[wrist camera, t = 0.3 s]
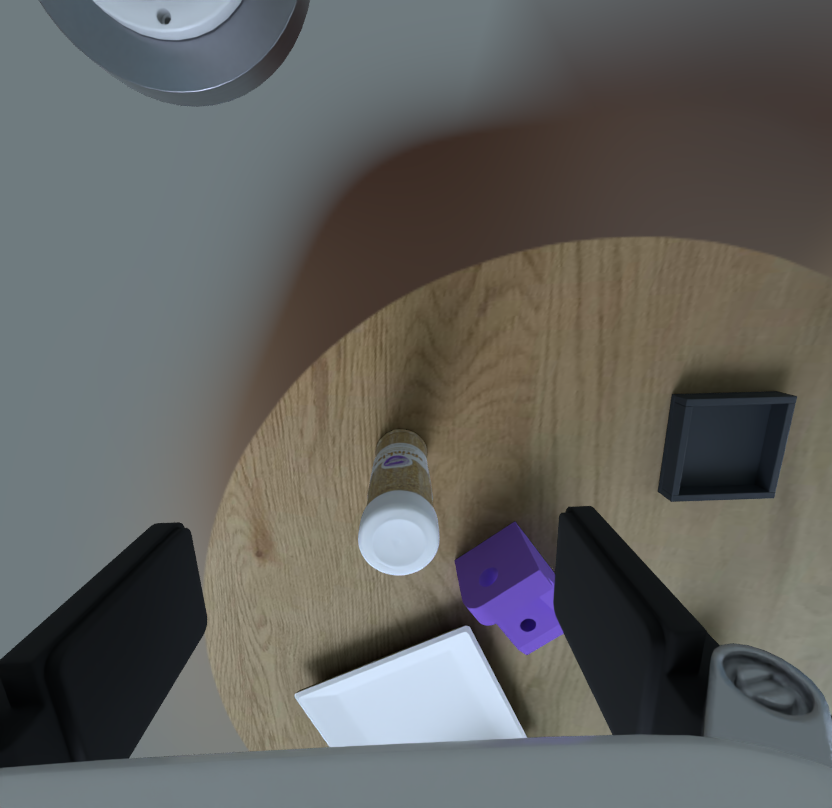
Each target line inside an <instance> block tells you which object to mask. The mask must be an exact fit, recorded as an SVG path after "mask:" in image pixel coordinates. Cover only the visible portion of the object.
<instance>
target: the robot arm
mask: <svg viewBox="0 0 832 808" xmlns="http://www.w3.org/2000/svg"><path fill="white" fill-rule="evenodd" d="M93 1H94V2H95V3H96V4H97V5H98V6H99V7H100V8H101V9H102V10H103V11H104V12H105V13H107V14H108V15H109V16H111V17H112V18H113V19H115V20H116V21H117V22H119V23H120V24H122V25H123V26H125V27H127V28H129V29H131V30H133V31H135V32H137V33H139V34H142V35H145V36H149V37H153V38H157V39H162V40H183V39H188V38H194V37H198V36H200V35H202V34H204V33H207V32H209V31H211V30H213V29H215V28H216V27H217V26H219V25H220V24H221V23H223V22H224V21H225V20H226V19H228V18H229V16H230V15H231V14H232V13H233V12H234V10H235V9H236V8H237V7H238V6H239V5H240V3H241V1H242V0H93ZM553 606H554V612H555V615H556V618H557V620H558V622H559V624H560V626H561V629H562V631H563V633H564V635H565V637H566V639H567V641H568V643H569V645H570V647H571V649H572V651H573V653H574V656H575V658H576V660H577V662H578V664H579V666H580V668H581V670H582V672H583V674H584V676H585V678H586V680H587V683H588V685H589V687H590V689H591V691H592V693H593V695H594V697H595V699H596V701H597V703H598V705H599V707H600V710H601V712H602V714H603V716H604V718H605V720H606V722H607V724H608V726H609V728H610V730H611V732H612V735H600V736H561V737H535V738H513V739H491V740H469V741H447V742H425V743H404V744H384V745H364V746H345V747H325V748H306V749H287V750H269V751H250V752H232V753H215V754H198V755H182V756H164V757H147V758H131V759H129V757H130V755H131V754H132V752H133V751H134V749H135V747H136V745H137V744H138V742H139V740H140V739H141V737H142V736H143V734H144V732H145V731H146V729H147V727H148V726H149V724H150V722H151V721H152V719H153V717H154V716H155V714H156V712H157V711H158V709H159V707H160V706H161V704H162V703H163V701H164V699H165V698H166V696H167V694H168V692H169V691H170V689H171V688H172V686H173V684H174V682H175V681H176V679H177V678H178V676H179V674H180V673H181V671H182V669H183V668H184V666H185V664H186V663H187V661H188V659H189V658H190V656H191V654H192V653H193V651H194V650H195V648H196V646H197V644H198V643H199V641H200V640H201V638H202V636H203V634H204V632H205V630H206V626H207V613H206V608H205V603H204V598H203V592H202V587H201V582H200V577H199V571H198V567H197V561H196V556H195V551H194V546H193V540H192V535H191V532H190V530H189V529H188V528H184V526H183V524H182V523H157V524H154V525H152V526H151V527H150V528H148V529H147V530H146V531H145V532H144V533H143V534H142V535H140V536H139V537H138V538H137V539H136V540H135V541H134V542H133V543H131V544H130V545H129V546H128V547H127V548H126V549H125V550H124V551H122V552H121V553H120V554H119V555H118V556H117V557H116V558H115V559H113V560H112V561H111V562H110V563H109V564H108V565H107V566H105V567H104V568H103V569H102V570H101V571H100V572H99V573H98V574H96V575H95V576H94V577H93V578H92V579H91V580H90V581H89V582H87V583H86V584H85V585H84V586H83V587H82V588H81V589H79V590H78V591H77V592H76V593H75V594H74V595H73V596H72V597H70V598H69V599H68V600H67V601H66V602H65V603H64V604H63V605H61V606H60V607H59V608H58V609H57V610H56V611H55V612H54V613H52V614H51V615H50V616H49V617H48V618H47V619H46V620H44V621H43V622H42V623H41V624H40V625H39V626H38V627H37V628H35V629H34V630H33V631H32V632H31V633H30V634H29V635H28V636H26V638H24V639H23V640H22V641H21V642H20V643H19V644H17V645H16V646H15V647H14V648H13V649H12V650H11V651H10V652H8V653H7V654H6V655H5V656H4V657H3V658H2V659H0V808H832V715H830V710H829V706H828V704H827V702H826V700H825V697H824V695H823V694H822V692H821V691H820V690H819V689H818V687H817V686H816V685H815V684H814V683H813V681H812V680H810V679H809V678H808V677H807V676H806V675H804V674H803V673H802V672H801V671H800V670H799V669H797V668H796V667H794V666H793V665H791V664H789V663H788V662H786V661H785V660H783V659H782V658H780V657H777V656H775V655H773V654H771V653H769V652H767V651H765V650H762V649H758V648H755V647H752V646H749V645H742V644H734V643H733V644H725V645H721V646H719V645H718V643H717V642H716V641H715V640H714V639H713V638H712V637H711V636H710V635H709V634H708V633H707V631H706V630H705V628H704V627H703V626H702V625H701V624H700V623H699V622H698V621H697V620H696V619H695V618H694V617H693V615H692V614H691V613H690V612H689V611H688V610H687V609H686V608H685V607H684V606H683V605H682V603H681V602H680V601H679V600H678V599H677V598H676V597H675V596H674V595H673V594H672V593H671V591H670V590H669V589H668V588H667V587H666V586H665V585H664V584H663V583H662V582H661V581H660V580H659V578H658V577H657V576H656V575H655V574H654V573H653V572H652V571H651V570H650V569H649V568H648V566H647V565H646V564H645V563H644V562H643V561H642V560H641V559H640V558H639V557H638V556H637V554H636V553H635V552H634V551H633V550H632V549H631V548H630V547H629V546H628V545H627V544H626V542H625V541H624V540H623V539H622V538H621V537H620V536H619V535H618V534H617V533H616V532H615V531H614V529H613V528H612V527H611V526H610V525H609V524H608V523H607V522H606V521H605V520H604V519H603V517H602V516H601V515H600V514H599V513H598V512H597V511H596V510H595V509H594V508H593V507H592V506H579V507H568V508H567V509H566V513H561V514H560V516H559V526H558V540H557V554H556V569H555V583H554V598H553Z"/></svg>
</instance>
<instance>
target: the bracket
mask: <svg viewBox="0 0 832 808" xmlns="http://www.w3.org/2000/svg"><path fill="white" fill-rule="evenodd" d="M455 565H456V570H457V576H458V581H459V586H460V591H461V596H462V601H463V603H464V605H465V606H466V607H467V608H468V610H469V611H470V612H471V613H472V614H473V615H474V617H475V618H476V619H477V620H478V621H479V622H480V623H481V624H483V625H493V624H497V625H498V626H499V627H500V628H501V630H502V631H503V632H504V633H505V634H506V636H507V637H508V638H509V639H510V640H511V641H512V643H513V644H514V645H515V646H516V647H517V649H518V650H520V651H521V652H523V653H524V654H526V655H528V654H530V653H531V652H533V651H535V650H536V649H538V648H540V647H541V646H543V645H545V644H546V643H548V642H550V641H551V640H553V639H555V638H556V637H558V636H560V635H562V634H563V631H562V629H561V626H560V624H559V622H558V620H557V618H556V615H555V612H554V606H553V598H554V583H555V573H554V572H553V571H552V569H551V568H550V567H549V565H548V564H547V563H546V561H545V560H544V559H543V557H542V556H541V555H540V553H539V552H538V551H537V549H536V548H535V547H534V546H533V544H532V543H531V542H530V540H529V539H528V538H527V536H526V535H525V534H524V532H523V531H522V530H521V528H520V527H519V526H518V524H517V523H516V522H513V523H512V524H510V525H508V526H507V527H505V528H504V529H502V530H501V531H499V532H498V533H496V534H495V535H493V536H492V537H490V538H488V539H487V540H485V541H484V542H482V543H481V544H479V545H478V546H476V547H475V548H473V549H472V550H470V551H468V552H467V553H465V554H464V555H462V556H461V557H459V558H458V559H456V560H455Z"/></svg>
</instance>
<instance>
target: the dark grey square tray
mask: <svg viewBox="0 0 832 808" xmlns="http://www.w3.org/2000/svg"><path fill="white" fill-rule="evenodd" d="M796 400H797V396H794V395H790V394H786V393H781V392H777V391H769V392H733V393H697V394H672V398H671V405H670V412H669V418H668V425H667V432H666V439H665V446H664V453H663V460H662V467H661V473H660V480H659V487H658V492H659V493H661V494H662V495H663V496H664V497H666V498H667V499H668V500H670V501H671V502H674V501H704V500H733V499H762V498H774V496H775V491H776V487H777V482H778V478H779V474H780V469H781V465H782V460H783V456H784V452H785V447H786V443H787V438H788V434H789V430H790V425H791V421H792V416H793V412H794V408H795V403H796Z"/></svg>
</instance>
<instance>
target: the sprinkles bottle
mask: <svg viewBox="0 0 832 808" xmlns="http://www.w3.org/2000/svg"><path fill="white" fill-rule="evenodd" d="M375 455H376V458H375V460H374V464H373V469H372V474H371V479H370V485H369V491H368V501H367V507H366V508H365V510H364V512H363V515H362V517H361V522H360V527H359V534H358V543H359V548H360V551H361V553H362V555H363V557H364V558H365V560H366V561H367V562H368V563H369V564H370V565H371V566H372V567H374V568H375V569H377V570H379V571H381V572H383V573H386V574H390V575H407V574H411V573H414V572H417V571H419V570H421V569H422V568H424V567H425V566H426V565H428V564H429V563H430V562H431V560H432V559H433V558H434V556H435V554H436V552H437V550H438V547H439V526H438V519H437V515H436V512H435V510H434V508H433V502H432V501H433V495H432V488H431V481H430V475H429V469H428V465H427V448H426V445H425V443H424V441H423V440H422V439H421V437H420V436H418V435H417V434H416V433H414V432H412V431H409V430H405V429H397V430H393V431H391V432H388V433H387V434H385V435H384V436H383V437H382V438H381V439H380V440H379V442H378V444H377V447H376V452H375Z"/></svg>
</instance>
